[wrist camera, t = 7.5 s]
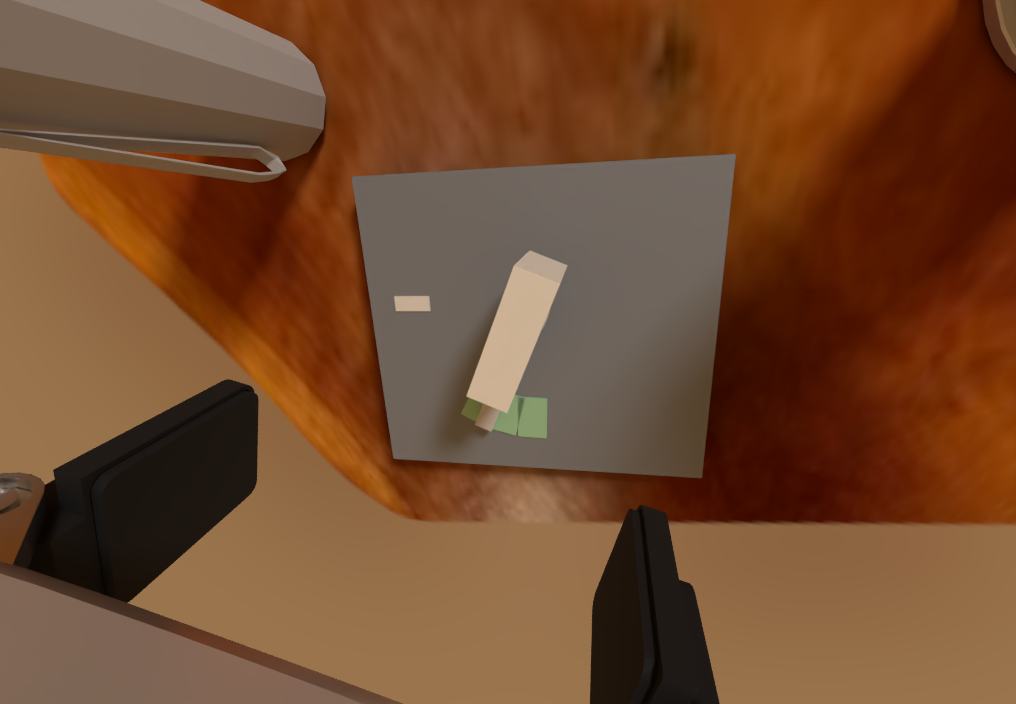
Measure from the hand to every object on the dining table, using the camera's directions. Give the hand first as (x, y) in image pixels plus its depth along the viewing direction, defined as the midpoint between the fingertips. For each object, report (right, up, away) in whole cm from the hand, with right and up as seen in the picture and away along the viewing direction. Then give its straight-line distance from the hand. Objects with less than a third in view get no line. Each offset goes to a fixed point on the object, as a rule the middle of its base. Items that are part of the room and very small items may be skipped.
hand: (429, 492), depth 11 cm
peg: (+3, +4, +19) cm, 20 cm away
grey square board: (+4, +5, +21) cm, 22 cm away
